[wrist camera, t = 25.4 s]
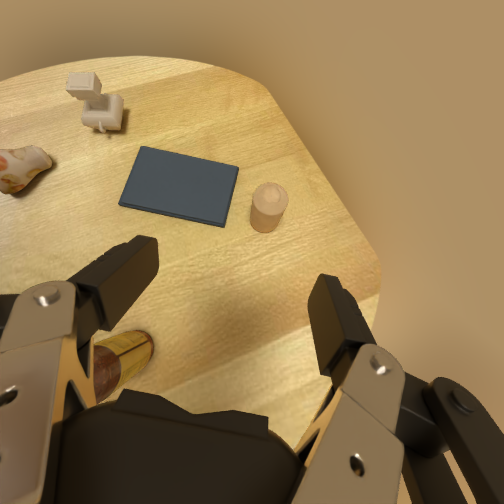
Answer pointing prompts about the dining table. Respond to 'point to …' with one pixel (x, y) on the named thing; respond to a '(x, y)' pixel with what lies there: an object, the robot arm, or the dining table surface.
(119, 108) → the beige blocky piece
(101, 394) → the sauce bottle
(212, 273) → the dining table surface
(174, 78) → the dining table surface
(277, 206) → the candle
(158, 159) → the dark grey rectangular slab
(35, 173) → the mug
